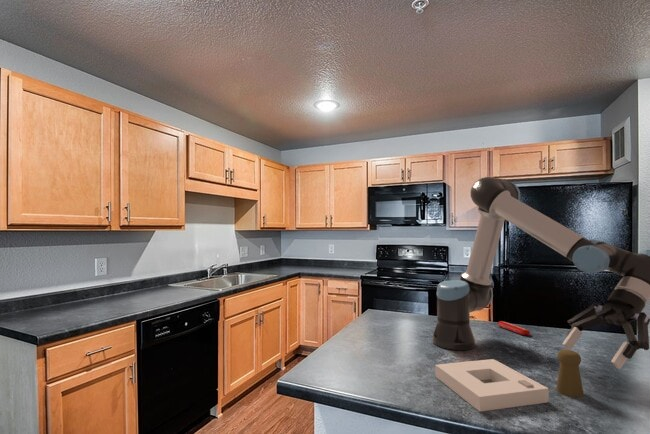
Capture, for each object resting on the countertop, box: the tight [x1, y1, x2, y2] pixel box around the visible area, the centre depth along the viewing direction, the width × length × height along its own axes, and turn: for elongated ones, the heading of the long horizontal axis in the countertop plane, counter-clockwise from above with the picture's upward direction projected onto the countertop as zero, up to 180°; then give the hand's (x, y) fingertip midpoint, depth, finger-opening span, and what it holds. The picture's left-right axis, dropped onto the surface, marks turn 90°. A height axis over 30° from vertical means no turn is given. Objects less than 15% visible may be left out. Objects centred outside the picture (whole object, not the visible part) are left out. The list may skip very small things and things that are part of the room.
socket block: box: [434, 358, 550, 413], centre depth 95 cm, size 20×20×4 cm
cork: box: [556, 349, 585, 399], centre depth 93 cm, size 6×6×11 cm
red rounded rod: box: [497, 320, 532, 337], centre depth 148 cm, size 16×4×3 cm, turn 15°
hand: (588, 355), depth 93 cm, fingers open, 13 cm apart
